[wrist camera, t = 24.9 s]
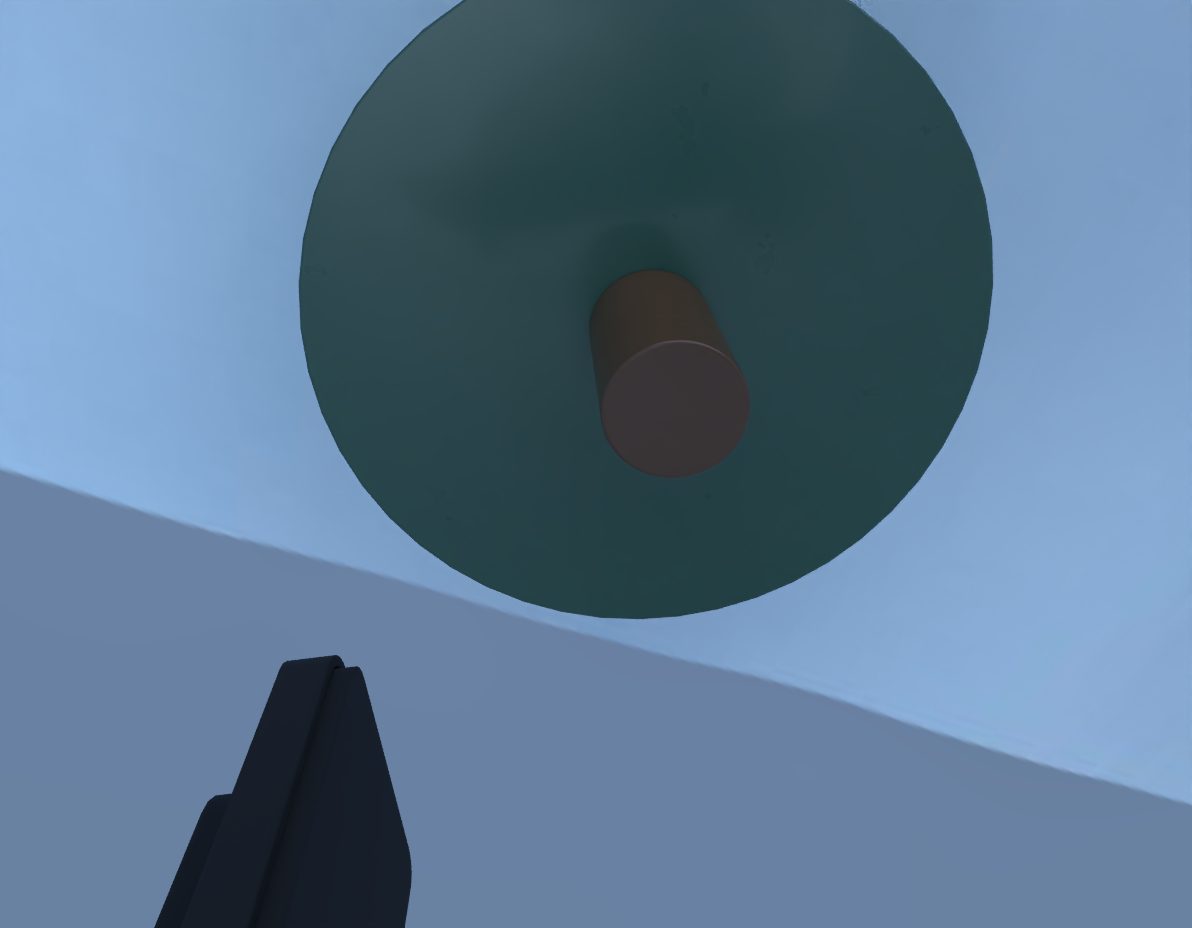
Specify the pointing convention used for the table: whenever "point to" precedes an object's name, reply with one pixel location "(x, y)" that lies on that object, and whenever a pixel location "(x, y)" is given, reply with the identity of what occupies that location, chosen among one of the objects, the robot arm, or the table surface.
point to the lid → (645, 293)
